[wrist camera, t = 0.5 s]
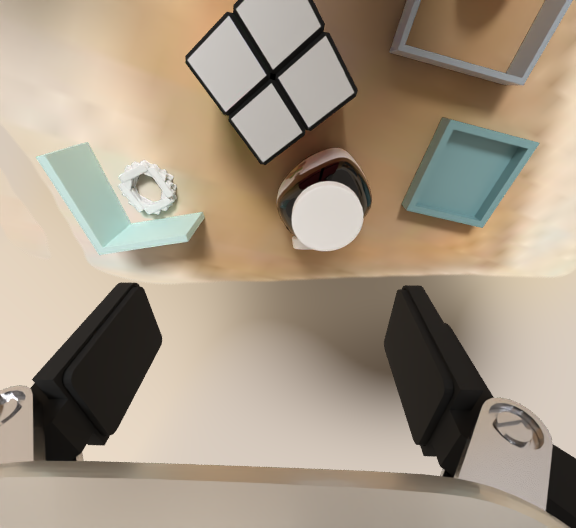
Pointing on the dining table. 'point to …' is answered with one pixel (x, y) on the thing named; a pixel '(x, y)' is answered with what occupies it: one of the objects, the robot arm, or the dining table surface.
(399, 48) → the grey hollow rectangular frame
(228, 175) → the dining table surface
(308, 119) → the puzzle cube
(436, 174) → the dish
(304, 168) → the spread jar
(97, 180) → the l-shaped corner panel
